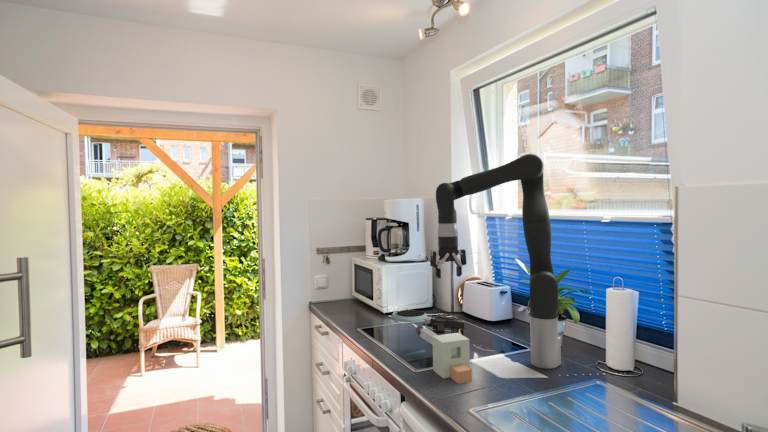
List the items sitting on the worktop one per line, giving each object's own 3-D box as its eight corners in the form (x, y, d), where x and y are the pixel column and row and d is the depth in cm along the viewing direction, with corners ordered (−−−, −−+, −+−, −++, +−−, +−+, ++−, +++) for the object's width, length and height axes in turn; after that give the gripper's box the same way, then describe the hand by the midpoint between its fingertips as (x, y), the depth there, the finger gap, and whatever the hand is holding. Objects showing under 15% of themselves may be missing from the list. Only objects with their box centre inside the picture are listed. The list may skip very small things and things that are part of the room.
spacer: (463, 376, 145) (463, 364, 145) (471, 381, 141) (471, 369, 140) (450, 378, 143) (450, 366, 143) (458, 384, 139) (458, 371, 139)
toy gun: (455, 330, 190) (466, 318, 203) (413, 323, 200) (426, 312, 213) (455, 340, 191) (466, 328, 203) (413, 332, 201) (426, 321, 214)
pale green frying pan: (410, 303, 240) (434, 312, 218) (410, 310, 241) (434, 320, 218) (381, 307, 233) (403, 317, 210) (381, 314, 233) (403, 325, 210)
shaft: (425, 335, 174) (425, 324, 174) (459, 357, 147) (459, 344, 147) (415, 336, 172) (415, 325, 172) (448, 359, 146) (447, 346, 146)
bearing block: (458, 366, 154) (457, 332, 154) (469, 374, 146) (469, 339, 146) (433, 370, 151) (432, 336, 151) (443, 378, 143) (442, 342, 143)
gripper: (435, 236, 160) (436, 280, 160) (469, 234, 164) (470, 277, 164) (426, 235, 167) (427, 277, 167) (459, 233, 171) (460, 274, 172)
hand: (448, 277), depth 166 cm, fingers open, 8 cm apart
